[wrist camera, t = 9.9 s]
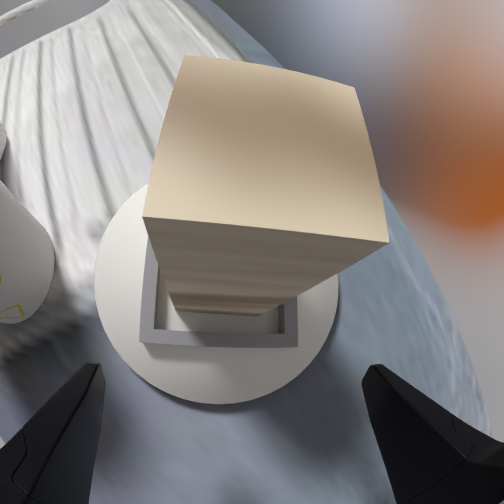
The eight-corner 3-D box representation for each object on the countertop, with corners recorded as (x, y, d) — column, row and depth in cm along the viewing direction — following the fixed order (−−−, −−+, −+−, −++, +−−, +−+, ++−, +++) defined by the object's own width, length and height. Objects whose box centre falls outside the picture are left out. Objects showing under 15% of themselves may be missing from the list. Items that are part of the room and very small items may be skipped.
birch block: (258, 316, 18) (389, 242, 6) (175, 310, 17) (141, 217, 5) (259, 239, 20) (354, 87, 8) (182, 232, 19) (184, 55, 7)
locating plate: (334, 394, 18) (361, 400, 15) (92, 390, 15) (72, 397, 12) (322, 185, 23) (341, 161, 20) (119, 166, 20) (111, 137, 17)
